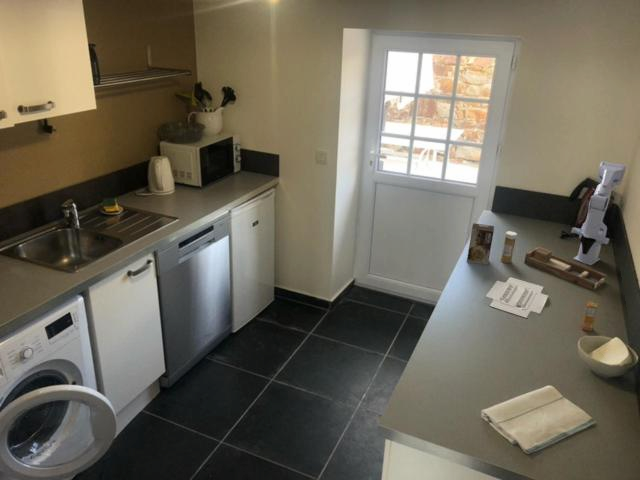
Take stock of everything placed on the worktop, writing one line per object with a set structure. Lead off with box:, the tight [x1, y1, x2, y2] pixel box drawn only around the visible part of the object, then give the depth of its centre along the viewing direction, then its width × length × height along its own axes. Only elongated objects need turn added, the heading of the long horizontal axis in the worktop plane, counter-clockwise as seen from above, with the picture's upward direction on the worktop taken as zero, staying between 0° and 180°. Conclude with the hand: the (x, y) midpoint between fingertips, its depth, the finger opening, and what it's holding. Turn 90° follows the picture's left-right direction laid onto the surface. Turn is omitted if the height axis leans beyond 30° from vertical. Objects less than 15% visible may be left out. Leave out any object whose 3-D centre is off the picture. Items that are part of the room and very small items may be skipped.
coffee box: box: [466, 223, 495, 266], centre depth 231 cm, size 9×6×16 cm
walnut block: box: [534, 247, 553, 263], centre depth 232 cm, size 5×5×4 cm
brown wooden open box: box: [523, 246, 607, 291], centre depth 226 cm, size 11×30×4 cm, turn 42°
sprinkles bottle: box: [500, 230, 518, 264], centre depth 232 cm, size 5×5×13 cm
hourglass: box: [581, 301, 598, 332], centre depth 186 cm, size 3×3×10 cm
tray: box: [485, 277, 550, 319], centre depth 206 cm, size 20×28×4 cm
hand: (584, 253), depth 223 cm, fingers closed
